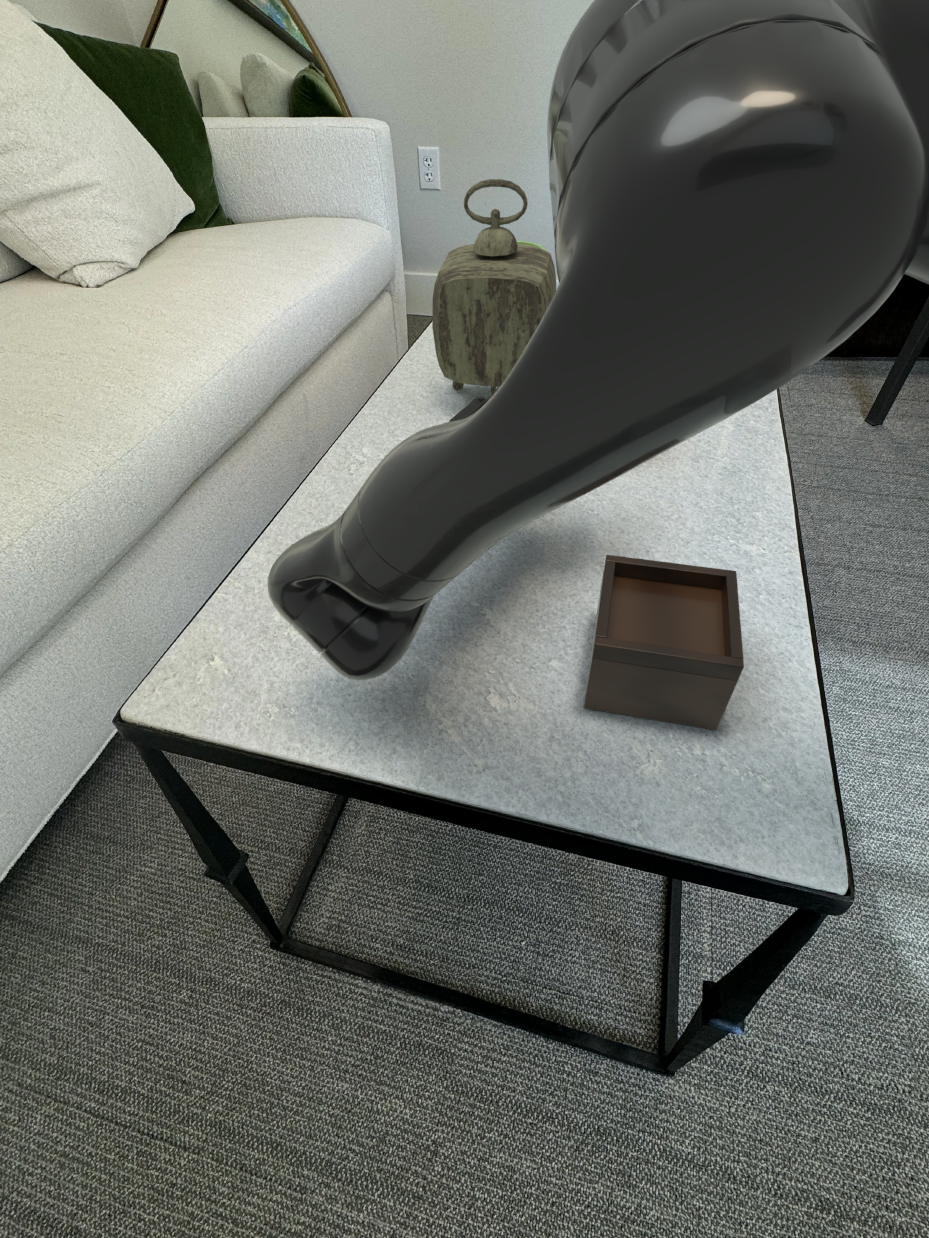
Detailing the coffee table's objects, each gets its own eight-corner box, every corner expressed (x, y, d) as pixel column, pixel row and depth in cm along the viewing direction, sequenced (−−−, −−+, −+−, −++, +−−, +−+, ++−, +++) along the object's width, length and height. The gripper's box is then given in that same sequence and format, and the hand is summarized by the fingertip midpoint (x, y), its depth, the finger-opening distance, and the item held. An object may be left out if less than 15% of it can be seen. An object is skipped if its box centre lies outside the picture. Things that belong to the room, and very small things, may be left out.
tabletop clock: (550, 388, 88) (565, 170, 70) (546, 421, 82) (561, 191, 64) (446, 384, 90) (435, 170, 72) (435, 416, 84) (419, 191, 66)
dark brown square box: (712, 636, 55) (736, 570, 50) (716, 731, 48) (744, 667, 43) (595, 619, 57) (606, 554, 52) (583, 708, 50) (594, 644, 45)
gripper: (555, 473, 48) (641, 386, 57) (402, 423, 53) (503, 352, 63) (548, 551, 53) (627, 460, 62) (410, 498, 59) (501, 422, 68)
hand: (565, 406), depth 62 cm, fingers open, 8 cm apart
